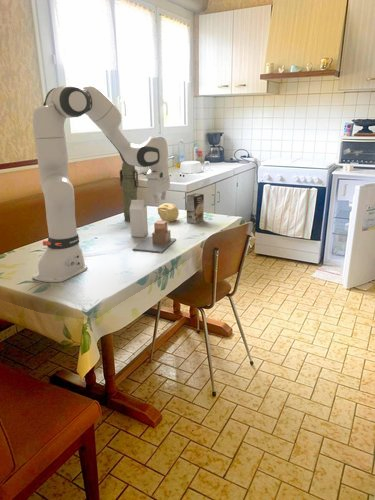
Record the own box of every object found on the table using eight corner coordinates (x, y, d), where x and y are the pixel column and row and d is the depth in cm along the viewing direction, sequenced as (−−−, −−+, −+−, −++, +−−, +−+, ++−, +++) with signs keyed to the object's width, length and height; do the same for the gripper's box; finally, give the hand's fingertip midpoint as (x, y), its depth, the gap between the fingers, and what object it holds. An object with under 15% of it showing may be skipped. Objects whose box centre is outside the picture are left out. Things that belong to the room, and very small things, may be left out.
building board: (162, 253, 175) (161, 241, 173) (132, 250, 179) (131, 238, 177) (176, 240, 193) (175, 229, 191) (148, 237, 197) (148, 227, 195)
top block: (164, 233, 184) (163, 223, 182) (154, 232, 185) (154, 222, 184) (167, 230, 188) (167, 221, 187) (158, 229, 190) (157, 220, 188)
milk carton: (144, 237, 197) (142, 201, 191) (131, 236, 199) (128, 201, 192) (148, 233, 204) (146, 198, 198) (135, 232, 205) (133, 198, 199)
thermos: (126, 217, 237) (122, 160, 226) (143, 218, 234) (140, 160, 222) (119, 220, 229) (115, 162, 218) (137, 222, 226) (133, 162, 214)
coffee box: (195, 223, 221) (195, 196, 215) (186, 222, 224) (186, 195, 219) (203, 220, 228) (204, 194, 222) (195, 218, 231) (195, 193, 226)
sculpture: (155, 221, 227) (154, 203, 224) (167, 217, 236) (167, 200, 233) (170, 224, 221) (170, 206, 217) (182, 219, 230) (182, 202, 227)
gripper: (160, 169, 187) (161, 196, 192) (144, 175, 169) (145, 205, 173) (172, 169, 185) (173, 197, 190) (157, 175, 167) (158, 206, 172)
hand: (160, 201), depth 182 cm, fingers open, 7 cm apart
